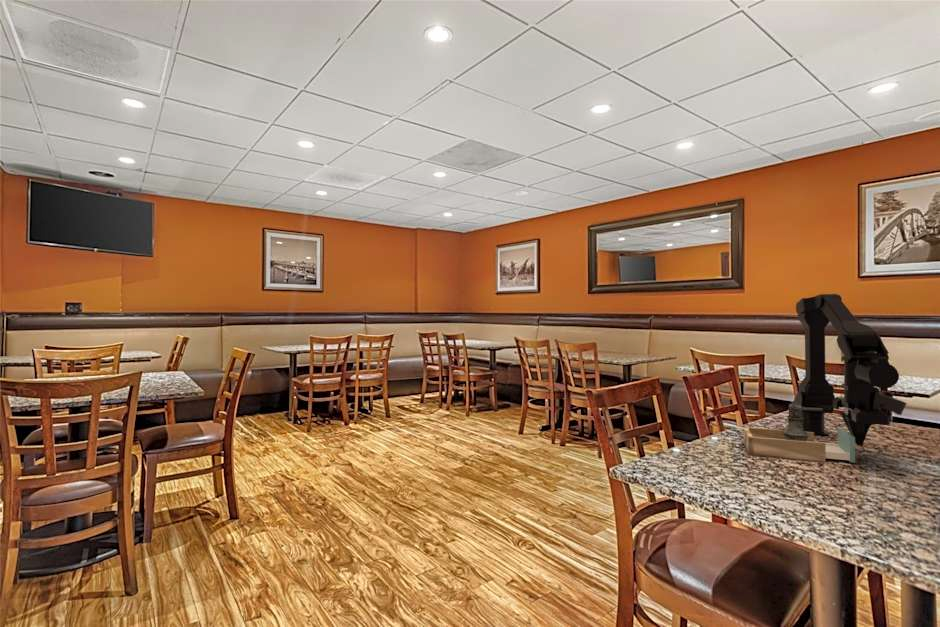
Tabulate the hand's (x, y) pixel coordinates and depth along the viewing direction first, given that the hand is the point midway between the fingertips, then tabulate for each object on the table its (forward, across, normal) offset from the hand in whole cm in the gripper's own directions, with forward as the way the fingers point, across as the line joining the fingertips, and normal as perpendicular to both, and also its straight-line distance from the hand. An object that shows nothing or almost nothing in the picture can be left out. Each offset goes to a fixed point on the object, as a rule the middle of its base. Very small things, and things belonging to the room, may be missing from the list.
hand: (859, 445), depth 116 cm
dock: (+4, 0, +16) cm, 16 cm away
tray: (+3, 0, +10) cm, 10 cm away
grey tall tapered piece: (+2, 0, +13) cm, 13 cm away
